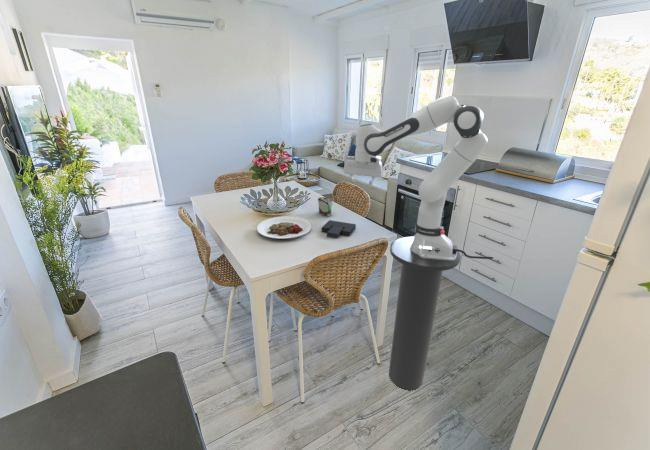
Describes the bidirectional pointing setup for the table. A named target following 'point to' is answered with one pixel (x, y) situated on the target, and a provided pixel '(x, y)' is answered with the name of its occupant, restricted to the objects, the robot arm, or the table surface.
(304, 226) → the plated food
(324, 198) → the food container
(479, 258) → the robot arm
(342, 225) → the black pad
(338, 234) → the grey pad
